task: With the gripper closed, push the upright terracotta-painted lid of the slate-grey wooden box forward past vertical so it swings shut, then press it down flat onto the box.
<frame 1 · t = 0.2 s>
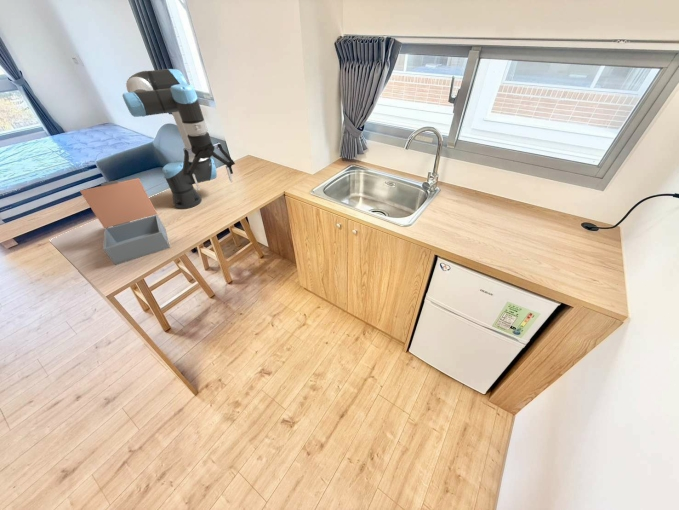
hand: (215, 185, 114), 28 cm above the worktop, fingers open, 13 cm apart
lid: (120, 202, 122), point 18 cm above the worktop, hinge at 100.0°
box: (142, 245, 127), on the worktop
mug: (122, 231, 136), on the worktop
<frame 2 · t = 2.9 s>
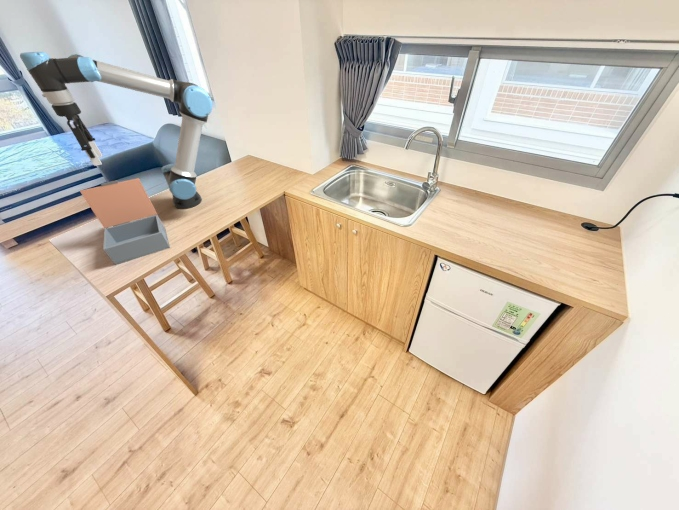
hand: (98, 160, 115), 36 cm above the worktop, fingers open, 10 cm apart
nothing on the worktop moved.
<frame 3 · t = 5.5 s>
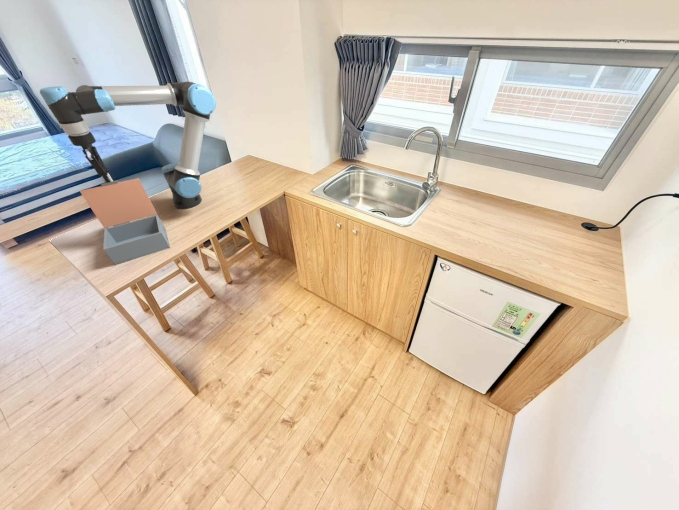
hand: (112, 187, 120), 25 cm above the worktop, fingers closed
lid: (120, 202, 122), point 19 cm above the worktop, hinge at 99.2°, touching gripper
everything else where it was.
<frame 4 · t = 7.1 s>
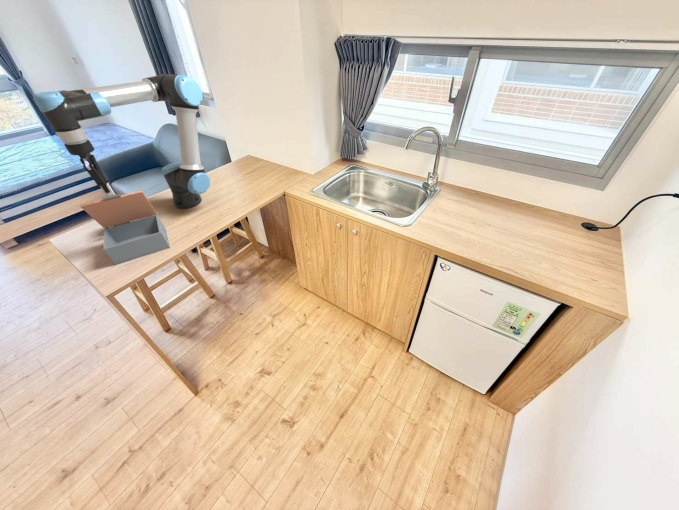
hand: (112, 198, 112), 25 cm above the worktop, fingers closed
lid: (121, 209, 118), point 18 cm above the worktop, hinge at 62.4°, touching gripper
everything else where it was.
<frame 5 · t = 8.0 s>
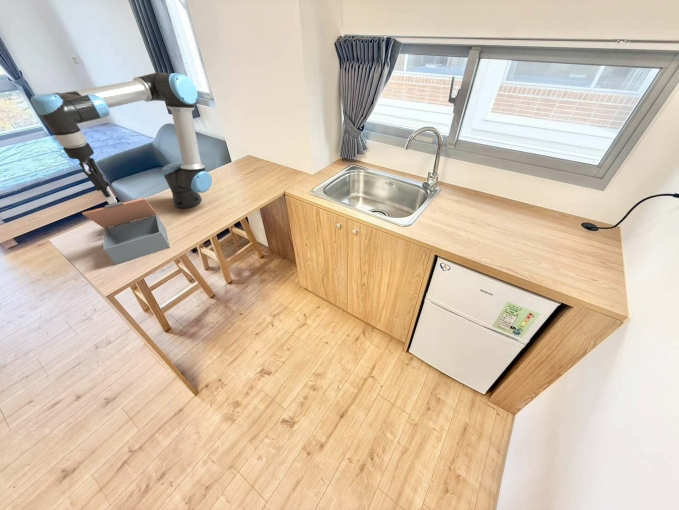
hand: (113, 202, 110), 24 cm above the worktop, fingers closed
lid: (123, 213, 118), point 17 cm above the worktop, hinge at 50.7°, touching gripper
everything else where it was.
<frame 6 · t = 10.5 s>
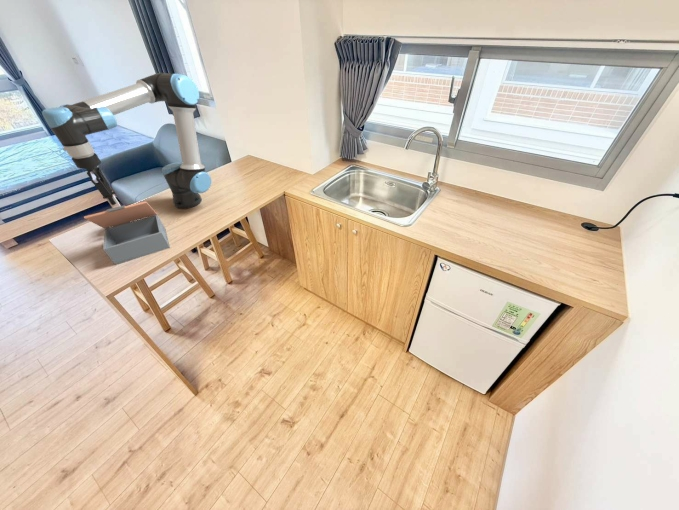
hand: (118, 209, 114), 20 cm above the worktop, fingers closed
lid: (124, 215, 118), point 16 cm above the worktop, hinge at 45.0°
everything else where it was.
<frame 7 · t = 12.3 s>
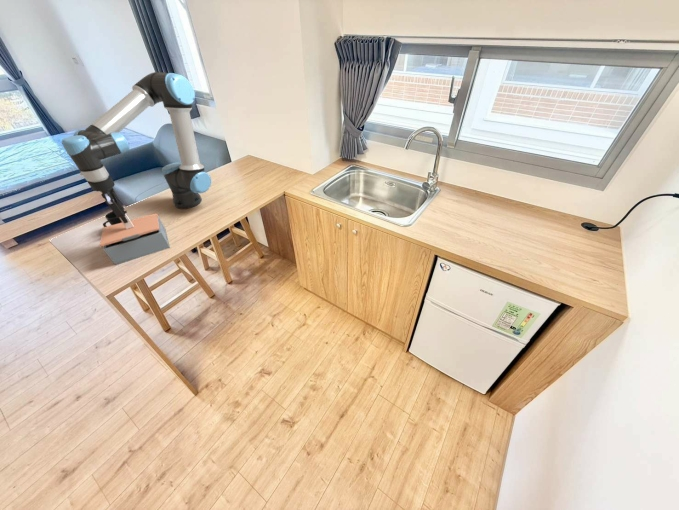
hand: (130, 227, 120), 11 cm above the worktop, fingers closed
lid: (131, 228, 120), point 10 cm above the worktop, hinge at 5.4°, touching gripper
everything else where it was.
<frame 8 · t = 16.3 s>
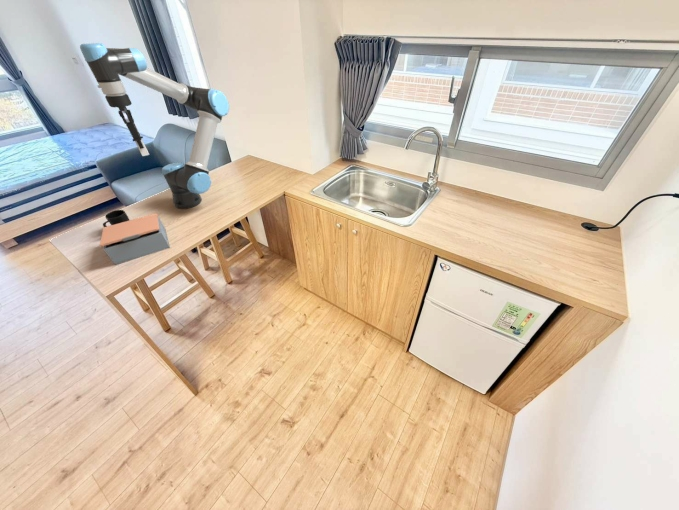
hand: (145, 154, 118), 36 cm above the worktop, fingers closed
lid: (131, 229, 120), point 10 cm above the worktop, hinge at 5.3°
everything else where it was.
at the end: lid at +5° (first picture: +100°); the gripper is holding nothing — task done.
